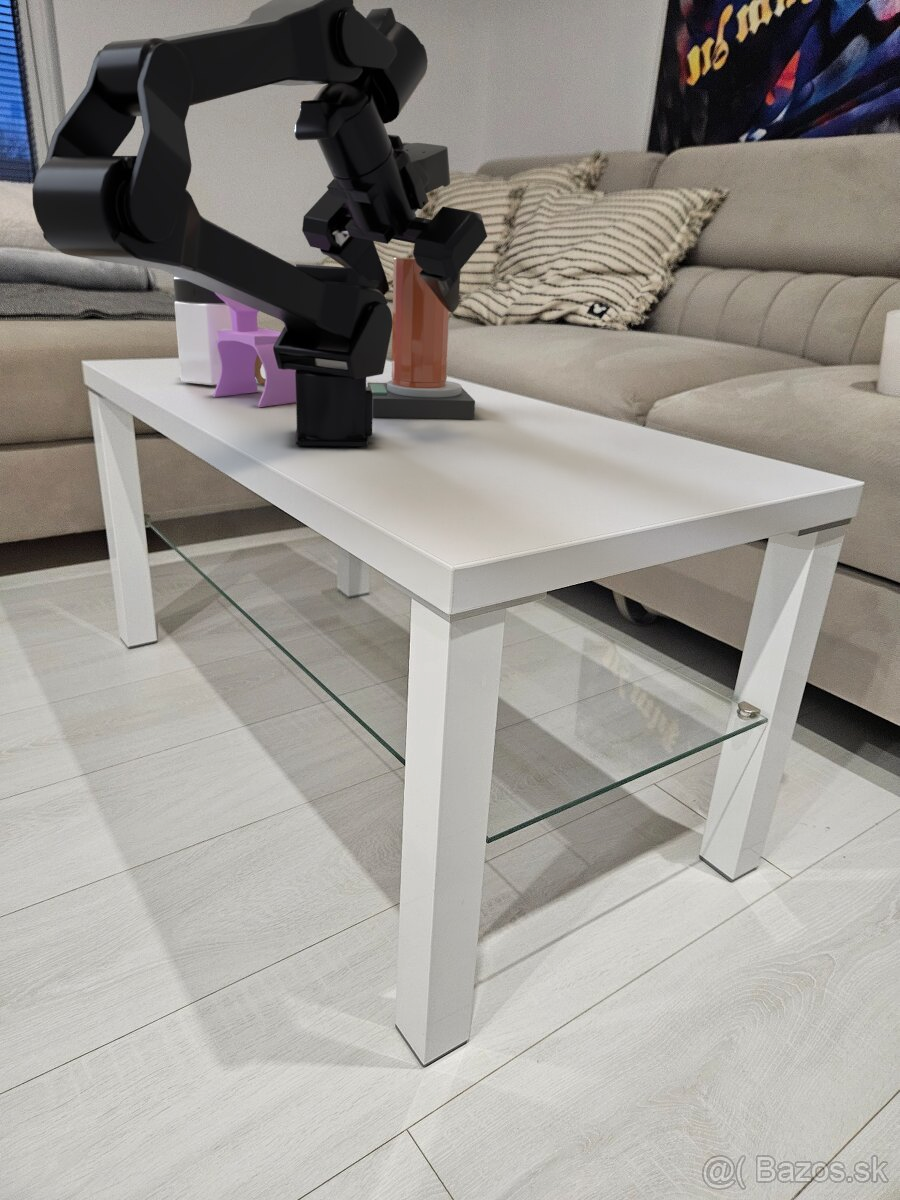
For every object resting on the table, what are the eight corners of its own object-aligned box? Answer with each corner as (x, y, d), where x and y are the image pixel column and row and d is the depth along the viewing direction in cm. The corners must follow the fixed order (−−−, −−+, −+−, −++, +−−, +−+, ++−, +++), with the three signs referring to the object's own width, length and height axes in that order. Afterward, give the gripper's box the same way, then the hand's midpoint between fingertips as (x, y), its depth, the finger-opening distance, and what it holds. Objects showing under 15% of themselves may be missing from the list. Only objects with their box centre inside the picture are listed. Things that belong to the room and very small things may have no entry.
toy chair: (255, 409, 89) (248, 259, 83) (205, 397, 94) (195, 255, 88) (312, 401, 95) (309, 261, 89) (262, 390, 100) (257, 257, 94)
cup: (443, 389, 90) (449, 260, 85) (388, 386, 90) (390, 257, 85) (448, 381, 95) (453, 260, 90) (395, 378, 96) (398, 257, 91)
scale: (372, 417, 88) (373, 390, 87) (367, 399, 98) (367, 375, 97) (474, 419, 90) (475, 393, 89) (458, 401, 100) (459, 377, 99)
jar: (195, 387, 99) (187, 280, 94) (167, 377, 105) (158, 276, 100) (262, 382, 104) (258, 281, 100) (232, 373, 110) (227, 277, 105)
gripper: (498, 108, 69) (536, 263, 82) (339, 94, 78) (395, 234, 91) (423, 194, 66) (475, 341, 79) (267, 169, 75) (336, 303, 88)
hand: (418, 300), depth 84 cm, fingers open, 9 cm apart
